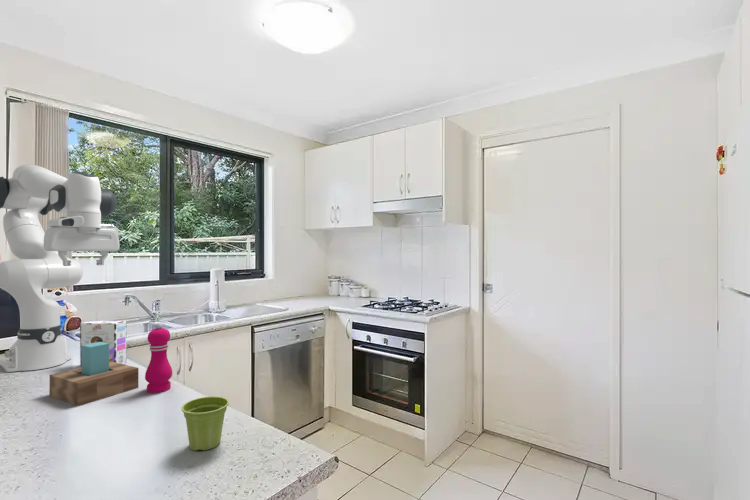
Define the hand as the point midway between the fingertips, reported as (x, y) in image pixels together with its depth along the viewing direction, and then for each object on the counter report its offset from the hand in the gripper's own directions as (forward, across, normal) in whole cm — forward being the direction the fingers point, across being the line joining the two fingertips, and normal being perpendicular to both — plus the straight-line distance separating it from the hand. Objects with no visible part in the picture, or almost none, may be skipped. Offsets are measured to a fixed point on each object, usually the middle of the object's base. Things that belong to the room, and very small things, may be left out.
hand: (84, 265), depth 124 cm
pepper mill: (+37, -7, +28) cm, 47 cm away
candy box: (+37, -12, -12) cm, 41 cm away
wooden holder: (+37, +3, +13) cm, 39 cm away
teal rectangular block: (+37, +3, +13) cm, 39 cm away
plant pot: (+37, +9, +69) cm, 79 cm away
